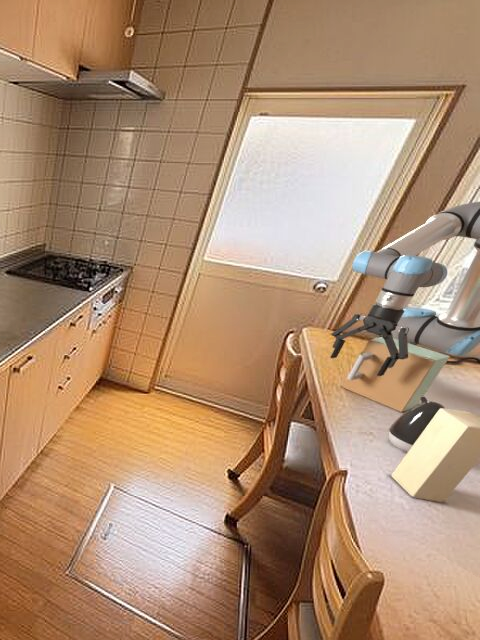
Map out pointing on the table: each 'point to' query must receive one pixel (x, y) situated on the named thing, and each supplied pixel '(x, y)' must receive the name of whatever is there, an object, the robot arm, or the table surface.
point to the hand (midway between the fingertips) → (355, 366)
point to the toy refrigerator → (441, 455)
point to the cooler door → (387, 376)
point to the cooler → (432, 374)
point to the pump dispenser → (412, 424)
